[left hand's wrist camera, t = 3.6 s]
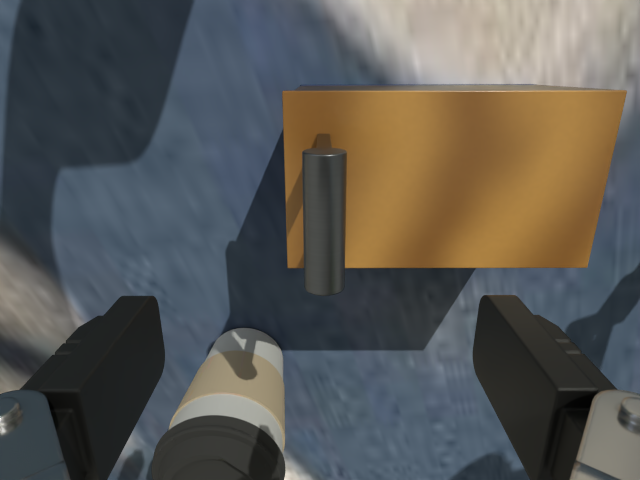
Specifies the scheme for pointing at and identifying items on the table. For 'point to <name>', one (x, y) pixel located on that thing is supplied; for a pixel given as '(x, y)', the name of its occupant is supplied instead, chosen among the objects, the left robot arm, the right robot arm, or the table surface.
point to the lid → (444, 178)
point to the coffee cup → (229, 415)
